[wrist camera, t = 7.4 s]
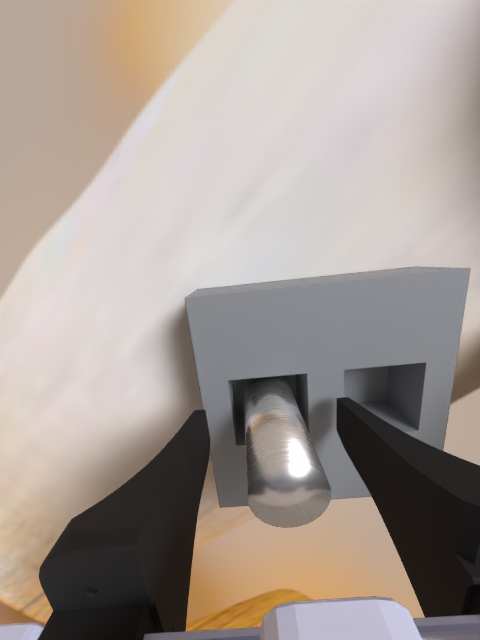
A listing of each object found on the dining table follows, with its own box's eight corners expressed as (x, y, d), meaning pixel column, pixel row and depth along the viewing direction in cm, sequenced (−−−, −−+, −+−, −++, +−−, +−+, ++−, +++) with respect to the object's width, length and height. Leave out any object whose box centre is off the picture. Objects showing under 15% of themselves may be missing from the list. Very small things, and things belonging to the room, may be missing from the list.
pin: (286, 361, 16) (334, 462, 8) (285, 399, 16) (327, 526, 9) (242, 362, 16) (247, 464, 8) (243, 400, 16) (248, 528, 9)
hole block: (416, 266, 14) (470, 268, 11) (399, 447, 18) (437, 491, 14) (197, 289, 15) (184, 297, 11) (223, 461, 18) (219, 507, 15)
